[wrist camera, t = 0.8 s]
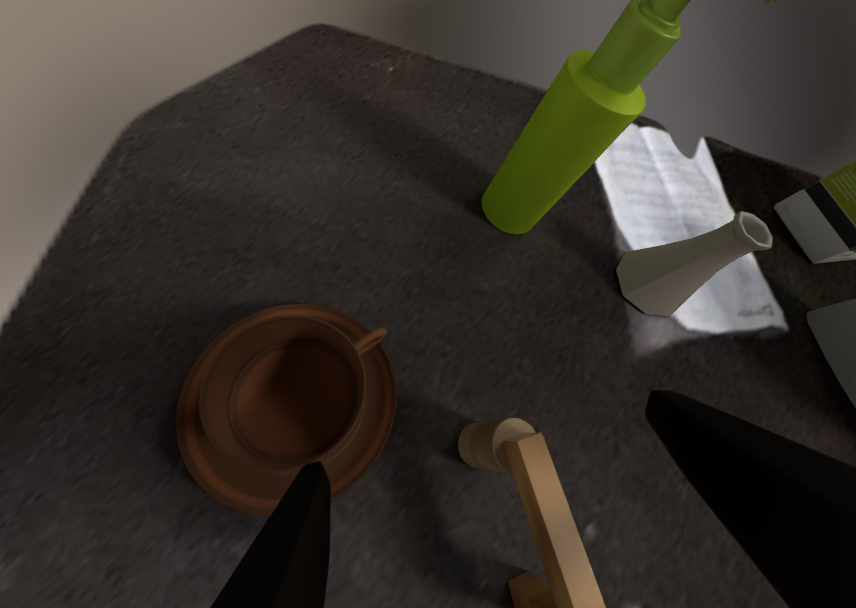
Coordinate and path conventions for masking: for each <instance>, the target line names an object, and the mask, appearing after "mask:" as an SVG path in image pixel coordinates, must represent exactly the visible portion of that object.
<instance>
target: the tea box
mask: <svg viewBox="0 0 856 608" xmlns="http://www.w3.org/2000/svg"><path fill="white" fill-rule="evenodd" d="M774 209H775V210H776V212H777V213H778V215H779V216H780V218H781V219H782V221H783V222H784V224H785V225H786V226H787V228H788V229H789V231H790V232H791V234H792V235H793V237H794V238H795V240H796V241H797V242H798V244H799V245H800V247H801V248H802V250H803V251H804V252H805V254H806V255H807V257H808V258H809V259H810V260H811V262H812V263H814V264H815V263H824V262H834V261H845V260H855V259H856V161H853V162H852V163H850V164H848V165H847V166H845V167H843V168H841V169H839V170H837V171H836V172H833V173H832V174H830V175H828V176H826V177H824V178H823V179H821V180H819V181H817V182H815V183H814V184H812V185H810V186H808V187H806V188H804V189H803V190H801V191H799V192H797V193H795V194H793V195H791V196H790V197H788V198H786V199H784V200H783V201H781V202H779V203H777V204H776V205H775V207H774Z"/></svg>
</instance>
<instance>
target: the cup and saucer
mask: <svg viewBox="0 0 856 608" xmlns="http://www.w3.org/2000/svg"><path fill="white" fill-rule="evenodd" d="M386 332H387V331H386V329H385V328H378V329H376V330H373V331H372V332H370V331H369V330H368V329H367V328H366V327H365V326H364V325H362V324H361V323H360V322H358V321H357V320H355V319H354V318H352V317H350V316H349V315H346V314H344V313H342V312H340V311H337V310H335V309H332V308H328V307H325V306H319V305H313V304H286V305H280V306H275V307H271V308H267V309H264V310H261V311H258V312H255V313H253V314H251V315H248V316H246V317H245V318H243V319H241V320H239V321H237V322H236V323H234V324H232V325H231V326H229V327H228V328H227V329H225V330H224V331H223V332H221V333H220V334H219V335H218V336H217V337H216V338H215V339H214V340H212V342H211V343H210V344H209V345H208V346H207V347H206V348H205V349H204V350H203V352H202V353H201V354H200V356H199V357H198V358H197V360H196V361H195V363H194V364H193V366H192V367H191V369H190V371H189V373H188V375H187V377H186V379H185V382H184V384H183V387H182V390H181V393H180V397H179V401H178V407H177V414H176V434H177V440H178V445H179V449H180V452H181V456H182V458H183V460H184V463H185V465H186V467H187V469H188V470H189V472H190V474H191V475H192V477H193V478H194V479H195V481H196V482H197V483H198V484H199V486H200V487H201V488H202V489H203V490H205V491H206V492H207V493H208V494H209V495H210V496H212V497H213V498H214V499H216V500H217V501H219V502H221V503H222V504H224V505H226V506H228V507H230V508H233V509H235V510H237V511H241V512H244V513H248V514H253V515H259V516H271V514H272V513H273V511H274V509H275V508H276V506H277V505H278V503H279V502H280V500H281V499H282V497H283V496H284V494H285V493H286V491H287V490H288V488H289V486H290V485H291V483H292V482H293V480H294V479H295V477H296V476H297V474H298V473H299V471H300V470H301V468H302V467H303V466H304V465H305V464H308V463H313V462H317V461H320V462H321V463H322V464H323V466H324V469H325V471H326V474H327V476H328V479H329V481H330V487H331V501H332V500H334V499H335V498H337V497H339V496H340V495H342V494H343V493H345V492H346V491H347V490H349V489H350V488H351V487H352V486H353V485H355V484H356V483H357V482H358V481H359V480H360V479H361V478H362V477H363V476H364V475H365V474H366V473H367V472H368V470H369V469H370V468H371V467H372V465H373V464H374V463H375V461H376V460H377V458H378V457H379V455H380V454H381V452H382V450H383V448H384V446H385V444H386V442H387V439H388V437H389V435H390V432H391V429H392V426H393V421H394V417H395V411H396V397H397V395H396V383H395V377H394V373H393V369H392V366H391V363H390V361H389V358H388V356H387V354H386V352H385V350H384V349H383V347H382V345H381V344H380V343H379V342H380V341H381V340H382V339H383V338H384V336H385V335H386Z"/></svg>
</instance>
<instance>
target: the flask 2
mask: <svg viewBox="0 0 856 608" xmlns="http://www.w3.org/2000/svg"><path fill="white" fill-rule="evenodd" d="M771 245H772V236H771V234H770V232H769V229H768V227H767V225H766V224H765V223H764V222H762V221H761V220H760V219H759V218H757V217H756V216H755V215H753V214H750V213H746V212H739V213H737V214H736V215H735V216H734V219H733V220H732V221H731V222H729V223H727V224H726V225H724V226H722V227H720V228H718V229H716V230H714V231H711V232H708V233H705V234H703V235H700V236H697V237H694V238H692V239H687V240H683V241H678V242H674V243H670V244H665V245H661V246H656V247H651V248H645V249H640V250H635V251H630V252H626V253H624V255H623V257H622V259H621V261H620V263H619V265H618V267H617V269H616V271H617V275H618V279H619V283H620V286H621V290H622V294H623V296H624V297H625V298H626V299H628V300H629V301H630V302H632V303H633V304H634V305H635V306H637V307H638V308H639V309H640V310H642V311H643V312H644V313H646V314H650V315H659V316H670V315H671V314H673V313H674V312H675V311H676V310H677V309H678V308H679V307H680V306H681V305H682V304H683V303H684V302H685V301H686V300H687V299H688V298H689V297H690V296H691V295H692V294H693V293H694V292H695V291H696V290H698V289H699V288H700V287H701V286H702V285H703V284H704V283H705V282H707V281H708V280H709V279H710V278H711V277H712V276H713V275H714V274H715V273H717V272H718V271H719V270H721V269H722V268H724V267H725V266H727V265H728V264H730V263H731V262H733V261H734V260H736V259H738V258H739V257H742V256H744V255H746V254H748V253H750V252H752V251H755V250H767V249H769V248H771Z"/></svg>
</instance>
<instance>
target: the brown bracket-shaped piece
mask: <svg viewBox="0 0 856 608" xmlns="http://www.w3.org/2000/svg"><path fill="white" fill-rule="evenodd" d="M458 449H459V453H460V456H461V458H462V459H463V461H464V462H465V463H466V464H467V465H469V466H470V467H472V468H476V469H481V470H486V471H491V472H496V473H501V474H507V475H512V476H514V478H515V481H516V484H517V487H518V490H519V493H520V496H521V499H522V502H523V505H524V509H525V512H526V515H527V518H528V521H529V524H530V527H531V530H532V533H533V536H534V539H535V542H536V545H537V548H538V551H539V554H540V557H541V560H542V563H543V566H544V569H545V573H546V576H547V579H548V582H549V584H547V583H545V582H544V581H542V580H541V579H539V578H538V577H536V576H535V575H533V574H532V573H530V572H529V571H526V572H524V573H523V574H521V575H519V576H517V577H515V578H513V579H512V580H510V581H508V586H509V589H510V592H511V596H512V599H513V603H514V606H515V608H606V607H605V604H604V601H603V598H602V596H601V593H600V590H599V588H598V585H597V582H596V579H595V577H594V574H593V571H592V568H591V566H590V563H589V560H588V557H587V555H586V552H585V549H584V547H583V544H582V541H581V538H580V536H579V533H578V530H577V527H576V525H575V522H574V519H573V517H572V514H571V511H570V508H569V506H568V503H567V500H566V497H565V495H564V492H563V489H562V486H561V484H560V481H559V478H558V476H557V473H556V470H555V467H554V465H553V462H552V459H551V456H550V454H549V451H548V448H547V446H546V443H545V440H544V437H543V435H542V433H541V432H538V433H536V432H535V431H534V429H533V428H532V427H531V426H530V425H529V424H528V423H527V422H525V421H524V420H521V419H518V418H507V419H499V420H491V421H483V422H475V423H471V424H469V425H467V426H466V427H465V428H464V429H463V430H462V431H461V433H460V436H459V439H458Z"/></svg>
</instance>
